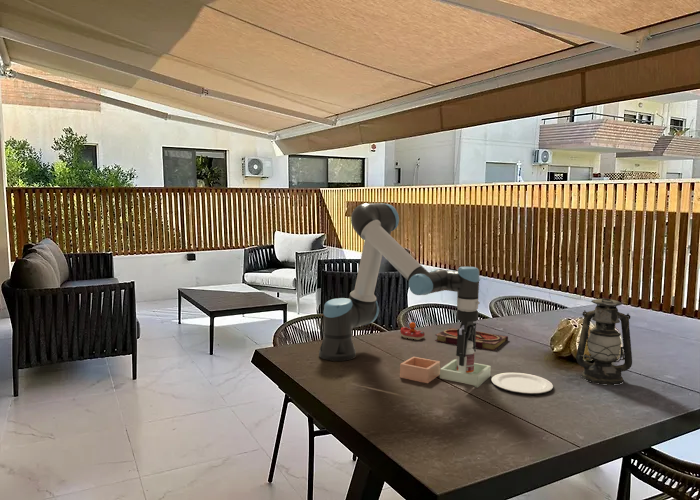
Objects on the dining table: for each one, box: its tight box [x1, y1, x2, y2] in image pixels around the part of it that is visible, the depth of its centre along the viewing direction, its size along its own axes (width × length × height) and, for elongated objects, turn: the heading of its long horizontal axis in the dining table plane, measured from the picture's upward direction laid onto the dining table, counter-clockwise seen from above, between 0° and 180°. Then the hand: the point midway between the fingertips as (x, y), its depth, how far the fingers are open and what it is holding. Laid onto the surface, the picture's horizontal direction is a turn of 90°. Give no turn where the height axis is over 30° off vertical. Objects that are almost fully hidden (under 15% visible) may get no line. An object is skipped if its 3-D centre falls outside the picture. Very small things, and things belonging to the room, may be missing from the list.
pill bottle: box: [456, 340, 475, 374], centre depth 191 cm, size 6×6×11 cm
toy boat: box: [400, 321, 426, 341], centre depth 247 cm, size 8×12×8 cm, turn 57°
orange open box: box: [399, 356, 441, 384], centre depth 191 cm, size 11×11×6 cm
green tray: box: [439, 358, 492, 389], centre depth 191 cm, size 14×14×4 cm
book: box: [434, 327, 509, 352], centre depth 243 cm, size 28×21×5 cm
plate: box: [491, 372, 554, 395], centre depth 185 cm, size 21×21×2 cm
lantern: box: [575, 298, 633, 386], centre depth 189 cm, size 19×19×30 cm
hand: (465, 371), depth 191 cm, fingers closed on pill bottle, 6 cm apart
